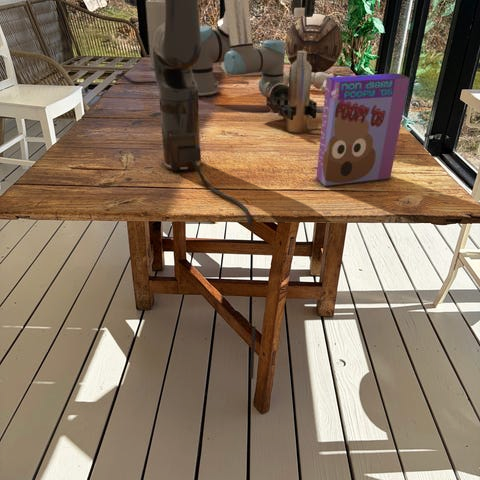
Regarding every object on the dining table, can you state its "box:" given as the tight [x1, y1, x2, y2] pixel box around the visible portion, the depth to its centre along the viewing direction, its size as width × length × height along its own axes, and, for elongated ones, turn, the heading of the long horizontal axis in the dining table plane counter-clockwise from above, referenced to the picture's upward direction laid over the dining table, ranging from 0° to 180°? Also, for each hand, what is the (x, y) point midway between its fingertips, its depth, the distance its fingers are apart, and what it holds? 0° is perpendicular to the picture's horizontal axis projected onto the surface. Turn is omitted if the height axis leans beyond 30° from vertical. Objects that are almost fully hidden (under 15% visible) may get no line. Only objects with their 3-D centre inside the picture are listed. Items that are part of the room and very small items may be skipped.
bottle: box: [285, 51, 312, 134], centre depth 142 cm, size 6×6×23 cm
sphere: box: [284, 12, 344, 73], centre depth 209 cm, size 25×25×25 cm
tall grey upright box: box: [145, 0, 165, 70], centre depth 219 cm, size 19×15×28 cm
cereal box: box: [315, 73, 410, 187], centre depth 109 cm, size 17×5×24 cm, turn 106°
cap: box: [293, 7, 305, 17], centre depth 116 cm, size 4×4×2 cm
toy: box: [283, 71, 342, 93], centre depth 188 cm, size 24×25×7 cm
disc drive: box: [220, 62, 262, 77], centre depth 217 cm, size 18×22×5 cm
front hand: (302, 15), depth 117 cm, fingers closed on cap, 4 cm apart
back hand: (303, 114), depth 140 cm, fingers closed on bottle, 6 cm apart
